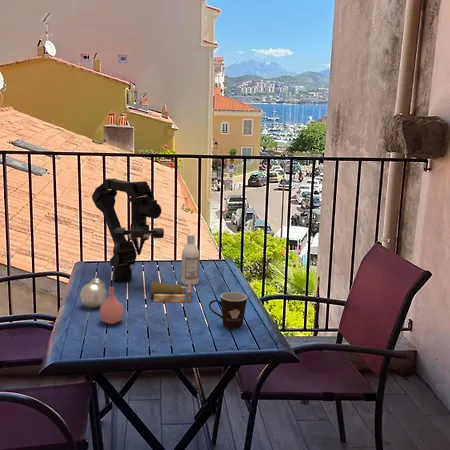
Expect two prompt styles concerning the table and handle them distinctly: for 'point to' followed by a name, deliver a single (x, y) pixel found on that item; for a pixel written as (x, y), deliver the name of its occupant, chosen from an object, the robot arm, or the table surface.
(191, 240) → the bath foam
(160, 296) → the cradle
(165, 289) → the cork
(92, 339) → the table surface
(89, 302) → the silver christmas ornament
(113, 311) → the pink bulb vase
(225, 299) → the coffee mug
